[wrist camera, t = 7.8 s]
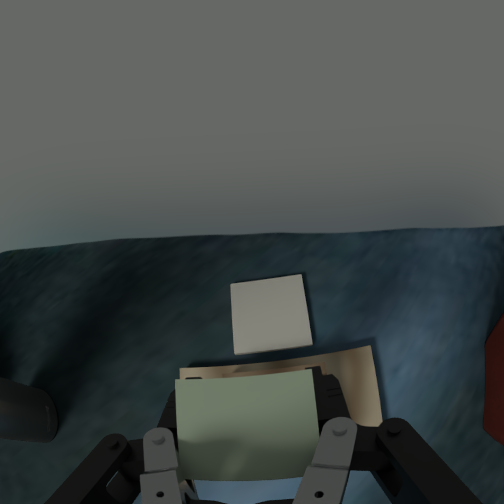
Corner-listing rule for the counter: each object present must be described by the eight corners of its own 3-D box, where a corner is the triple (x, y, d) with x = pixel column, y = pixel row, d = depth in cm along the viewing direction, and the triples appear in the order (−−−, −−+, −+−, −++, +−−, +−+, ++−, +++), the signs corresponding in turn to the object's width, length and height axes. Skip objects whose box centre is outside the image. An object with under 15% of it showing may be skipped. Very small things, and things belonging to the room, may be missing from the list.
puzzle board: (189, 463, 26) (174, 469, 23) (184, 370, 33) (169, 364, 29) (381, 443, 25) (393, 448, 21) (367, 347, 31) (377, 339, 27)
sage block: (233, 447, 16) (181, 478, 8) (229, 393, 18) (175, 379, 10) (308, 441, 16) (322, 473, 7) (302, 386, 18) (311, 368, 9)
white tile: (235, 354, 33) (234, 353, 32) (231, 286, 38) (230, 283, 37) (312, 345, 32) (312, 344, 31) (301, 276, 37) (301, 274, 36)
